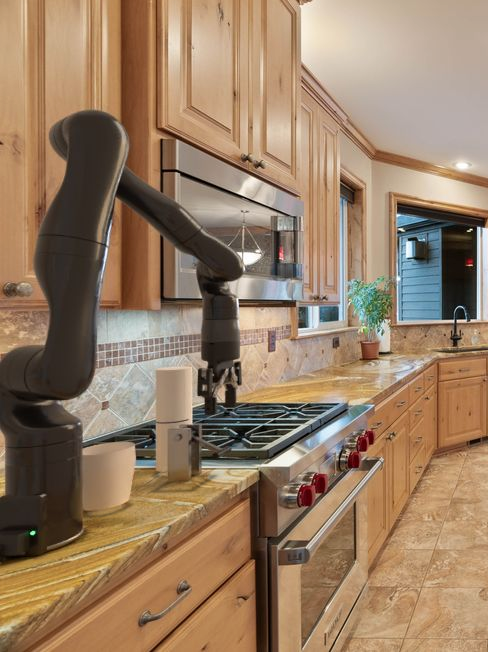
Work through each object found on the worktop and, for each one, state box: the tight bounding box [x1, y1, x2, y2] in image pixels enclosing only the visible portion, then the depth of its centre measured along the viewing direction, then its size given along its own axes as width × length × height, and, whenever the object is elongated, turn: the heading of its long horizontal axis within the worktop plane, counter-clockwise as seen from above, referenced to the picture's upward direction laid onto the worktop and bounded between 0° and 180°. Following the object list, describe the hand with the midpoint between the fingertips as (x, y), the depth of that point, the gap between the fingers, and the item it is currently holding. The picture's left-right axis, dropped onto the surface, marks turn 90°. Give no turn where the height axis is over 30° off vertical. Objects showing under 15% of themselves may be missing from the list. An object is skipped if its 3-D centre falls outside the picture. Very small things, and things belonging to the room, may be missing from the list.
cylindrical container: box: [155, 365, 193, 473], centre depth 112 cm, size 7×7×25 cm
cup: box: [83, 441, 137, 512], centre depth 91 cm, size 9×9×12 cm
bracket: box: [167, 423, 203, 483], centre depth 104 cm, size 8×9×13 cm
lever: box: [181, 426, 232, 460], centre depth 105 cm, size 11×6×2 cm, turn 95°
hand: (221, 410), depth 105 cm, fingers open, 8 cm apart
